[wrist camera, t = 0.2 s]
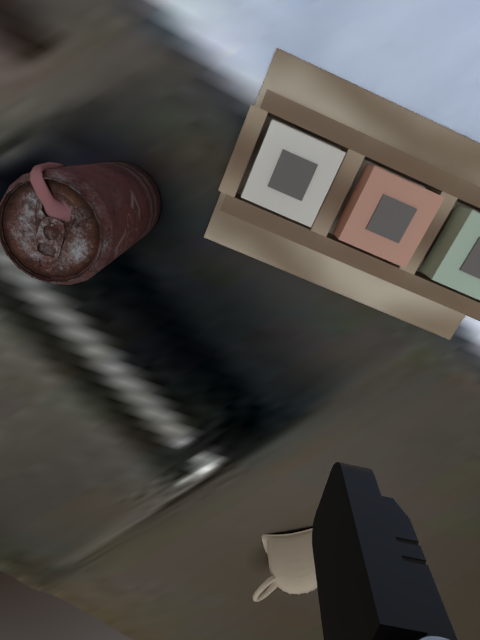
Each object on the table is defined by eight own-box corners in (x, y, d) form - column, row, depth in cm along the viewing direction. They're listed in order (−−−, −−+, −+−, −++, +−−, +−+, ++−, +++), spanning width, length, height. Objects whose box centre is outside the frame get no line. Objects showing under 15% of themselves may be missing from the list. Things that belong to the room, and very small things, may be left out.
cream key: (271, 121, 30) (272, 119, 28) (339, 152, 31) (346, 152, 28) (242, 193, 32) (240, 197, 29) (307, 221, 32) (311, 228, 30)
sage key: (456, 205, 32) (473, 210, 29) (519, 233, 32) (541, 240, 30) (419, 270, 33) (432, 280, 31) (479, 295, 34) (496, 308, 31)
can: (145, 147, 35) (77, 148, 22) (172, 228, 37) (124, 273, 24) (72, 170, 36) (-36, 184, 23) (103, 248, 38) (20, 302, 25)
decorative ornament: (332, 552, 49) (341, 599, 44) (255, 563, 50) (255, 610, 45) (326, 523, 47) (334, 568, 42) (247, 535, 48) (246, 580, 43)
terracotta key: (366, 164, 31) (375, 165, 28) (431, 193, 31) (446, 197, 29) (332, 232, 33) (338, 239, 30) (394, 259, 33) (406, 268, 31)
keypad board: (274, 50, 32) (277, 36, 28) (544, 177, 34) (584, 181, 30) (204, 233, 37) (197, 245, 33) (445, 334, 39) (467, 357, 35)
